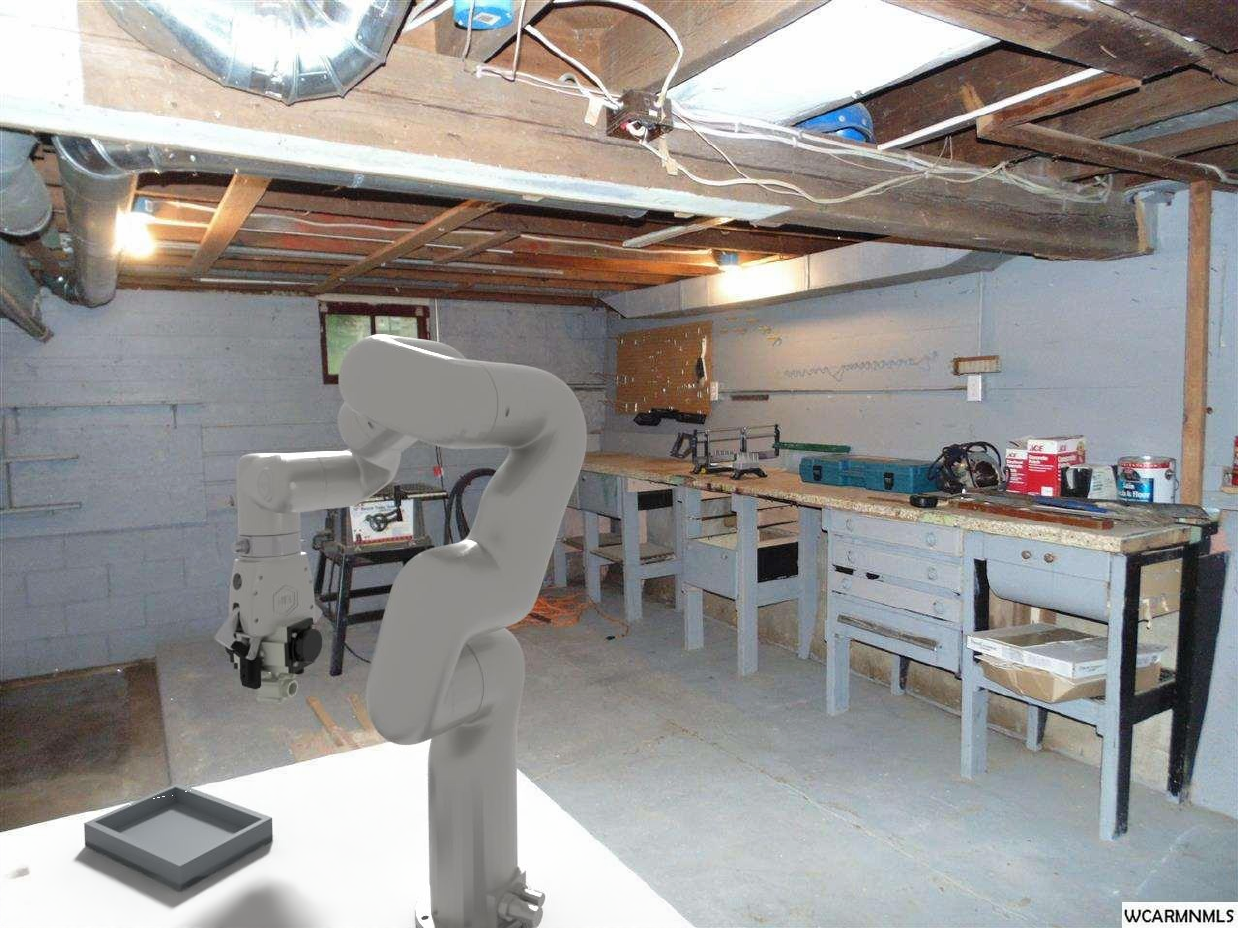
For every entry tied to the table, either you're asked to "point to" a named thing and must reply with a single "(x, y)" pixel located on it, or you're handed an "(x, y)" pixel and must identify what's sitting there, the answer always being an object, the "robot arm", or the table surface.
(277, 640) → the pneumatic valve
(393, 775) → the table surface
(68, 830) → the table surface
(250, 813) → the parts tray
